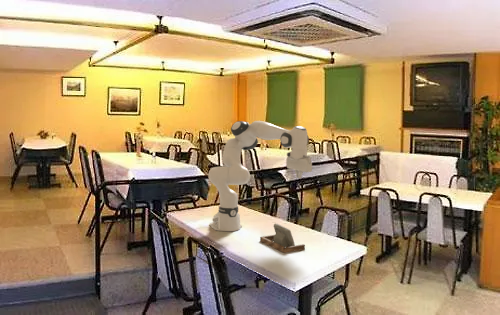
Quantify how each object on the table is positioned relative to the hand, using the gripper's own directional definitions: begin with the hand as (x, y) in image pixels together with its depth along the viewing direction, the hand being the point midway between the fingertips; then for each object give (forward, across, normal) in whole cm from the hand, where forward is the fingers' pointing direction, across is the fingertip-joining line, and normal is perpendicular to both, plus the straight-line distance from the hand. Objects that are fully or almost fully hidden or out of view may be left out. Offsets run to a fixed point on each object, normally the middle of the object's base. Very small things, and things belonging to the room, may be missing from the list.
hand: (298, 178), depth 264 cm
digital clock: (+35, -10, +16) cm, 40 cm away
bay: (+35, -10, +18) cm, 41 cm away
